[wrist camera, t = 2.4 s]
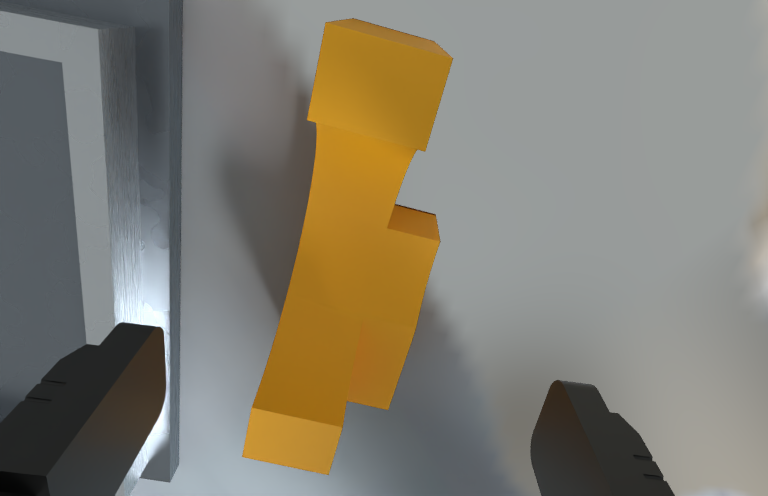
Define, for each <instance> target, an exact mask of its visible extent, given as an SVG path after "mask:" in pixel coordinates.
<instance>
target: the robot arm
mask: <svg viewBox="0 0 768 496" xmlns="http://www.w3.org/2000/svg"><path fill="white" fill-rule="evenodd" d="M165 397H166V362H165V339H164V331H163V329H162V328H161V327H157V326H150V325H142V324H135V323H127V322H121V323H119V324H117V325H116V326H115V328H114V329H113V330H112V331H111V332H110V333H109V334H108V336H107V337H106V338H105V339H104V340H103V341H102V343H101V344H100V345H91V344H86V345H84V346H82V347H81V348H79V349H77V350H76V351H74V352H72V353H70V354H69V355H67V356H65V357H63V358H62V359H60V360H59V361H58V362H57V363H56V364H55V365H54V366H53V367H52V368H51V370H50V371H49V372H48V373H47V374H46V375H45V376H44V377H43V378H42V379H41V383H40V384H36V386H35V387H34V388H33V389H32V390H31V391H30V392H29V393H28V394H27V395H26V396H25V400H24V401H21V402H20V403H19V404H18V405H17V406H16V407H15V408H14V409H13V410H12V411H11V412H10V413H9V414H8V415H7V416H6V418H5V419H4V420H3V421H2V422H1V423H0V496H115V494H116V493H117V491H118V489H119V487H120V486H121V484H122V482H123V480H124V478H125V477H126V475H127V473H128V471H129V470H130V468H131V466H132V464H133V463H134V461H135V459H136V457H137V455H138V454H139V452H140V450H141V448H142V447H143V445H144V443H145V441H146V440H147V438H148V436H149V434H150V432H151V431H152V429H153V427H154V425H155V424H156V422H157V420H158V418H159V416H160V414H161V411H162V408H163V405H164V401H165ZM531 461H532V466H533V469H534V473H535V476H536V479H537V483H538V486H539V489H540V492H541V496H675V495H674V494H673V492H672V490H671V488H670V487H669V485H668V483H667V482H666V481H664V480H663V474H662V473H661V471H660V469H659V467H658V466H657V464H656V462H654V461H652V455H651V454H650V452H649V450H648V448H647V447H646V445H645V443H644V442H643V440H642V438H641V436H640V435H639V433H637V431H636V430H634V429H633V428H632V427H631V426H630V425H629V424H628V423H627V422H626V421H625V420H624V419H623V418H622V417H621V416H620V415H619V414H618V413H610V412H609V410H608V408H607V407H606V404H605V402H604V401H603V399H602V397H601V395H600V393H599V391H598V390H597V388H596V387H595V386H593V385H591V384H583V383H575V382H568V381H560V380H556V381H554V382H553V383H552V385H551V386H550V389H549V391H548V394H547V397H546V399H545V402H544V405H543V407H542V410H541V413H540V415H539V418H538V421H537V423H536V426H535V429H534V431H533V435H532V439H531Z"/></svg>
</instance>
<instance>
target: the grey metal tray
mask: <svg viewBox="0 0 768 496" xmlns="http://www.w3.org/2000/svg"><path fill="white" fill-rule="evenodd" d="M182 10H183V0H0V423H1V422H2V421H3V420H4V419H5V418H6V416H7V415H8V414H9V413H10V412H11V411H12V410H13V409H14V408H15V407H16V406H17V405H18V404H19V403H20V402H21V401H24V400H25V396H26V395H27V394H28V393H29V392H30V391H31V390H32V389H33V388H34V387H35V386H36V384H40V383H41V379H42V378H43V377H44V376H45V375H46V374H47V373H48V372H49V371H50V370H51V368H52V367H53V366H54V365H55V364H56V363H57V362H58V361H59V360H60V359H62V358H63V357H65V356H67V355H69V354H70V353H72V352H74V351H76V350H77V349H79V348H81V347H82V346H84V345H86V344H91V345H100V344H101V343H102V341H103V340H104V339H105V338H106V337H107V336H108V334H109V333H110V332H111V331H112V330H113V329H114V328H115V326H116V325H117V324H119V323H121V322H127V323H135V324H142V325H150V326H157V327H161V328H162V329H163V331H164V339H165V362H166V397H165V401H164V405H163V408H162V411H161V414H160V416H159V418H158V420H157V422H156V424H155V425H154V427H153V429H152V431H151V432H150V434H149V436H148V438H147V440H146V441H145V443H144V445H143V447H142V448H141V450H140V452H139V454H138V455H137V457H136V459H135V461H134V463H133V464H132V466H131V468H130V470H129V471H128V473H127V475H126V477H125V478H124V480H123V482H122V484H121V486H120V487H119V489H118V491H117V493H116V494H115V496H129V495H130V493H131V492H132V490H133V488H134V486H135V484H136V483H137V481H138V479H139V478H144V479H150V480H157V481H164V482H170V481H171V479H172V477H173V475H174V473H175V471H176V469H177V467H178V465H179V378H180V255H181V133H182Z"/></svg>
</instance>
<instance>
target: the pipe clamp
mask: <svg viewBox="0 0 768 496" xmlns="http://www.w3.org/2000/svg"><path fill="white" fill-rule="evenodd" d="M452 60H453V58H452V57H451V56H450V55H449V54H448V53H447V52H445V51H444V50H443V49H442V48H441V47H440V46H439V45H438V44H436V43H435V42H434V41H432V40H428V39H424V38H421V37H418V36H414V35H410V34H407V33H403V32H400V31H396V30H393V29H389V28H386V27H382V26H379V25H375V24H372V23H368V22H365V21H361V20H358V19H354V18H352V19H346V20H339V21H332V22H326V23H325V29H324V34H323V39H322V44H321V49H320V55H319V60H318V65H317V70H316V75H315V81H314V86H313V91H312V96H311V101H310V107H309V112H308V117H307V120H308V121H312V122H316V127H317V141H316V153H315V162H314V169H313V176H312V182H311V188H310V194H309V200H308V205H307V210H306V215H305V220H304V225H303V229H302V234H301V239H300V243H299V247H298V252H297V256H296V260H295V264H294V268H293V272H292V277H291V281H290V284H289V288H288V292H287V296H286V300H285V303H284V307H283V311H282V314H281V318H280V321H279V325H278V328H277V332H276V335H275V339H274V342H273V345H272V349H271V352H270V355H269V358H268V361H267V365H266V368H265V371H264V374H263V377H262V380H261V383H260V386H259V389H258V392H257V394H256V397H255V400H254V403H253V405H252V408H251V414H250V419H249V424H248V429H247V435H246V440H245V445H244V450H243V455H242V457H245V458H250V459H254V460H259V461H264V462H269V463H273V464H278V465H283V466H288V467H293V468H297V469H302V470H307V471H312V472H316V473H321V474H326V475H329V472H330V468H331V465H332V462H333V458H334V455H335V452H336V448H337V445H338V441H339V438H340V435H341V431H342V428H343V422H344V415H345V409H346V403H347V401H349V402H354V403H358V404H363V405H367V406H372V407H376V408H381V409H385V410H388V409H389V406H390V403H391V400H392V397H393V394H394V392H395V389H396V386H397V383H398V380H399V377H400V374H401V371H402V368H403V365H404V362H405V359H406V357H407V354H408V351H409V348H410V345H411V342H412V339H413V336H414V333H415V330H416V326H417V321H418V317H419V312H420V308H421V304H422V300H423V296H424V293H425V289H426V285H427V282H428V278H429V275H430V271H431V268H432V265H433V262H434V259H435V255H436V253H437V250H438V247H439V244H440V237H439V231H438V225H437V220H436V214H433V213H429V212H425V211H421V210H417V209H414V208H410V207H406V206H401V205H398V204H395V201H396V198H397V196H398V193H399V190H400V187H401V184H402V181H403V179H404V176H405V173H406V171H407V169H408V166H409V164H410V162H411V160H412V158H413V156H414V154H415V152H416V151H417V150H421V151H426V147H427V144H428V140H429V137H430V134H431V130H432V127H433V124H434V121H435V117H436V114H437V110H438V107H439V104H440V101H441V97H442V94H443V90H444V87H445V84H446V80H447V77H448V74H449V70H450V67H451V64H452Z"/></svg>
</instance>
